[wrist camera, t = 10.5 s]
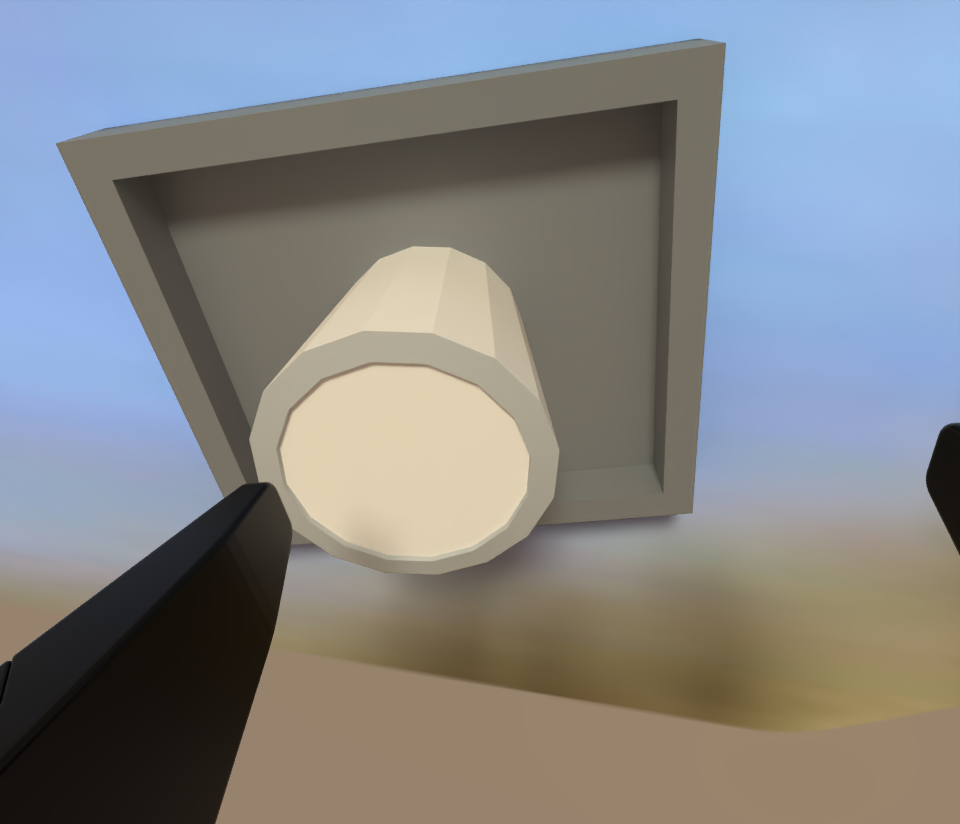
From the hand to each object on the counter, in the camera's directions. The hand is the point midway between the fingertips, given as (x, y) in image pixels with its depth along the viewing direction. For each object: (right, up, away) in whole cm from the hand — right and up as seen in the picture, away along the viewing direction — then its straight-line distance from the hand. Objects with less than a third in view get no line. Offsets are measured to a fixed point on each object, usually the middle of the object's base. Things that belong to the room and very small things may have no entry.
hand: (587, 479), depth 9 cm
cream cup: (-3, +3, +11) cm, 12 cm away
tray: (-3, +4, +11) cm, 12 cm away
